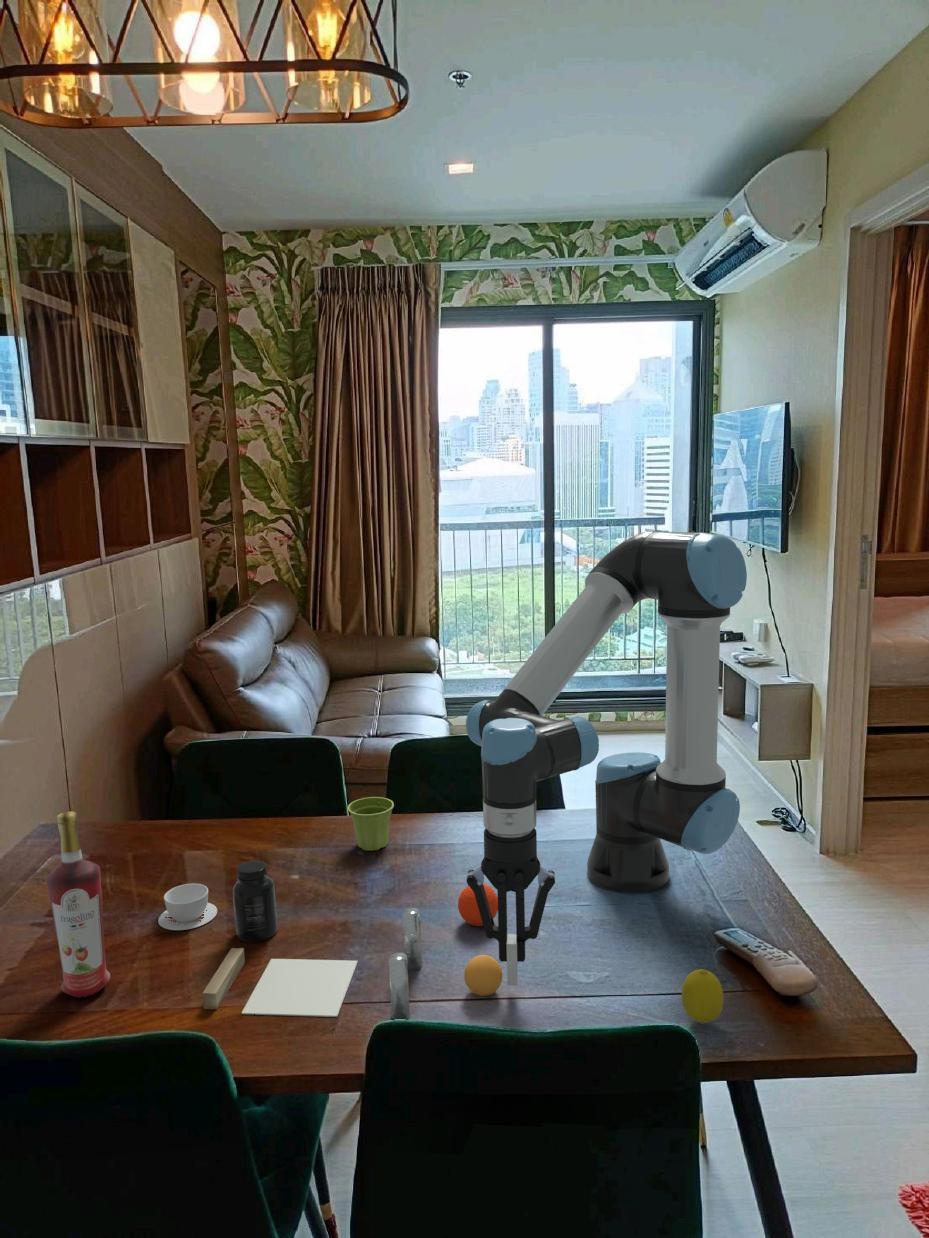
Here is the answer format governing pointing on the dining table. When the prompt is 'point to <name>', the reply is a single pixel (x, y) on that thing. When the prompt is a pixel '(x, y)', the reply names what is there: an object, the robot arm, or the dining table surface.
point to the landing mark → (301, 988)
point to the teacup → (187, 907)
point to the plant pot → (371, 821)
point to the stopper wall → (223, 978)
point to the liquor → (77, 914)
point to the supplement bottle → (254, 903)
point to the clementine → (470, 907)
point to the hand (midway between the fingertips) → (512, 979)
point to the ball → (483, 975)
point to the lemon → (702, 996)
